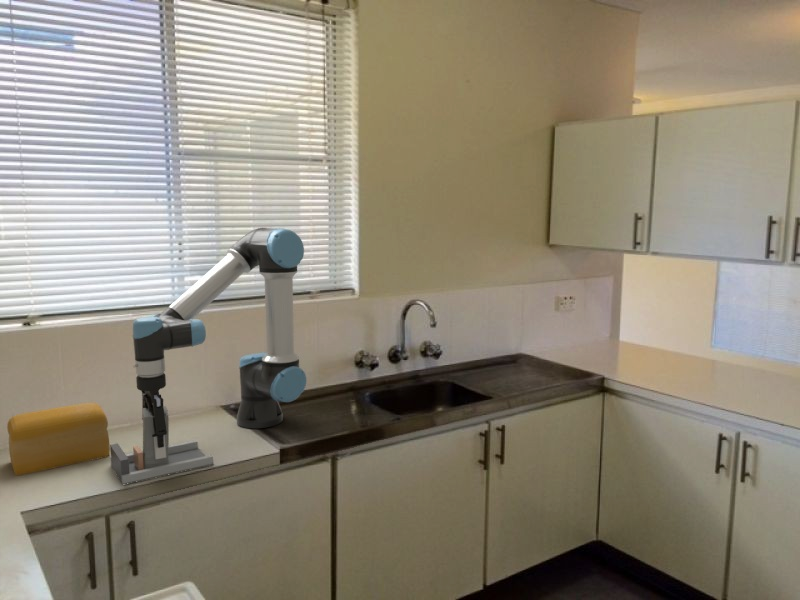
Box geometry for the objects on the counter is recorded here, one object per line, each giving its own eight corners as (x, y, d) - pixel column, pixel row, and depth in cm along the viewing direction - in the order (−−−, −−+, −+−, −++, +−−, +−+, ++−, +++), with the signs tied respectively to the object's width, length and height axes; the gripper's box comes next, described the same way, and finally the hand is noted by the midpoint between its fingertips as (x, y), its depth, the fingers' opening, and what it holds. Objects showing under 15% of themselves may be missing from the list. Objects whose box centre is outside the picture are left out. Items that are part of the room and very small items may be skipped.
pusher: (138, 462, 186) (137, 445, 186) (143, 469, 182) (142, 452, 181) (134, 463, 186) (133, 446, 185) (139, 470, 181) (137, 453, 180)
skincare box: (142, 461, 189) (139, 407, 186) (169, 458, 191) (166, 404, 189) (144, 472, 181) (140, 416, 179) (171, 468, 184) (168, 413, 181)
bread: (101, 443, 205) (97, 396, 203) (110, 456, 194) (107, 406, 192) (10, 462, 191) (5, 411, 189) (14, 476, 181) (9, 423, 178)
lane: (196, 447, 200) (195, 427, 199) (213, 464, 187) (212, 442, 186) (111, 465, 187) (109, 443, 186) (123, 485, 174) (121, 461, 173)
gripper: (127, 367, 190) (133, 443, 193) (146, 385, 171) (151, 468, 175) (154, 364, 194) (159, 438, 197) (175, 380, 176) (180, 461, 179)
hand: (156, 452), depth 186 cm, fingers open, 9 cm apart
